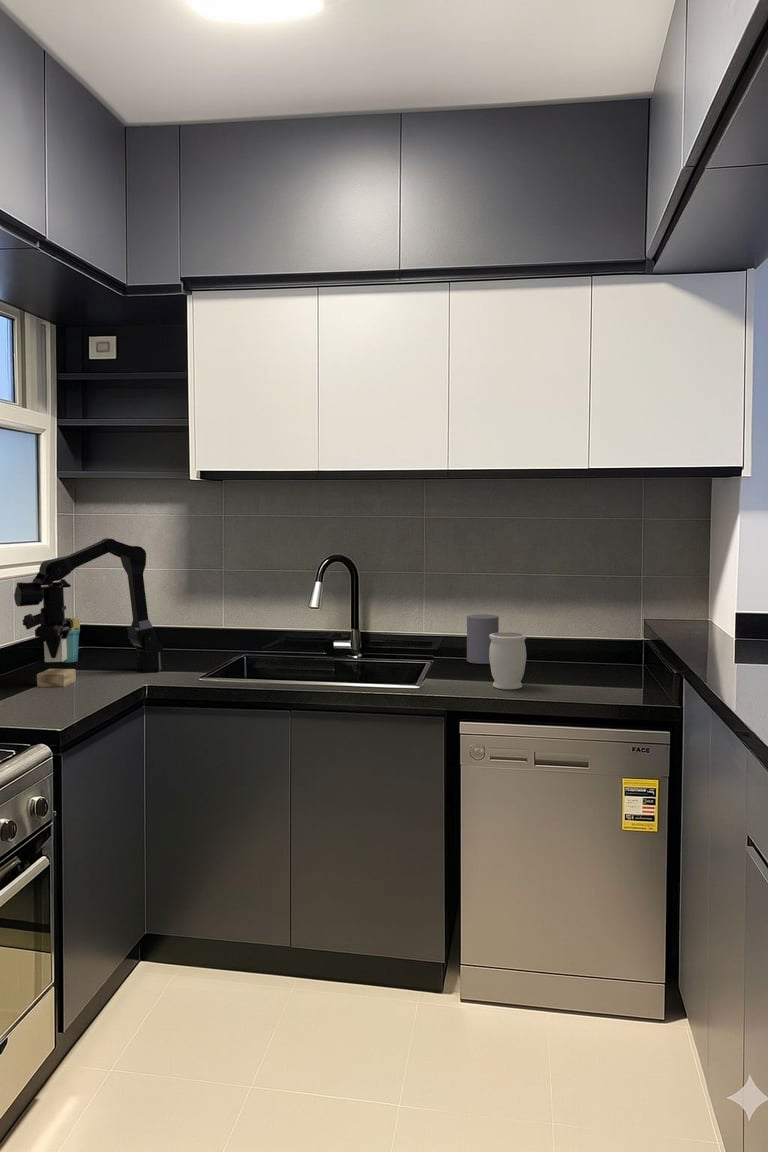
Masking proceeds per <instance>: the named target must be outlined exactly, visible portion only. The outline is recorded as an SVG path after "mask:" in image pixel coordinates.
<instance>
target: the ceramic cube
mask: <svg viewBox="0 0 768 1152" xmlns="http://www.w3.org/2000/svg"><path fill="white" fill-rule="evenodd" d="M43 650H44V651H43V653H44V655H43V656H44V663H60V662H61V663H64V662H63V661H64V660H66V659H67V645H66V639H61V642H60V645H59V648H58V652H57V655H56V658H51V655H50V652H49V649H48V646H47V644H46V641H45V640H44V641H43Z"/></svg>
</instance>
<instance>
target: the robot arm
mask: <svg viewBox="0 0 768 1152" xmlns="http://www.w3.org/2000/svg"><path fill="white" fill-rule="evenodd" d="M106 554H111V555H113V556H115V557H117V558H120V562H121V564H122V567H123V569H124V571H125V573H126V575H127V581H128V590H129V597H130V605H131V606H130V607H131V615H132V622H131V625H127V626H126V628H127V629H126V630H127V633H128V635H127V639H129V640H130V643H131V644H132V645H133V646H134V647H135V650H136V651H138V655H137V657H136V670H137V673H158V672H160V671H161V669H162V668H163V667H162V666H161V653H162V652H163V650H164V645H163V644H162V642H161V641H159V640H158V638H157V636H156V633H155V630H154V629H155V628H154V626H153V625H152V622H151V621H150V619H149V613H148V605H147V595H146V588H145V586H146V585H145V581H144V572H145V569H146V565H147V552H146V550H145V548H143V547H141V546H139V545H138V546H137V545H129V544H126V543H123V542H120V541H117V540H115V539H114V538H110V537H109V538H108V537H107V538H106V537H104V538H102V539H101V540H99V541H98V542H95V543H93V544H90V545H89V546H86V547H84V548H82V549H80V550H77V551H76V552H73V553H71V554H68V555H64V556H61V557H60V556H59V557H56V558H52V559H47V560H44V561H42V562H41V564H40V566H39V567H38V568H39V570H38V572H37V574H36V576H35V577H34V579H32V581H30V582H23V581H22V582H21V581H20V582H16V587H15V589H14V593H13V598H14V603H15V605H16V606H17V607H28V606H29V607H31V606H39V605H40V604H41V602H42V603H43V604H42V605H43V607H41V608H40V612H39V613H36V614H34V615H33V614H32V613H29V614H27V615H24V616H23V619H22V625H23V626H24V627H25V628H26V631H27V630H30V629H32V628H35V627H36V626H37V628H35V629H34V637H37V638H40V639H42V640H44V641H46V644H47V646H48V649H49V652H50V655H51V658H56V655H57V652H58V648H59V645H60V642H61V639H67V637H68V635H69V632H70V630H66V629H65V627H66V628H73V620H72V619H73V618H71V617H68V618H67V617H65V611H66V610H67V605H65V594H64V593H65V592H64V590H65V588H71V586H72V585H71V584H70V583H69V582H67V581H66V579H64V578H66V577H67V576H69V575H70V574H71V573H72V571H74V570H75V569H77V568H79V567H80V566H82V565H83V566H84V565H85V564H87V563H89V562H91V561H94V560H95V559H98V558H100V557H102V556H105V555H106Z"/></svg>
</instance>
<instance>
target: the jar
mask: <svg viewBox="0 0 768 1152" xmlns="http://www.w3.org/2000/svg"><path fill="white" fill-rule="evenodd" d="M489 637H490V639H491V644H490V650H489V660H490V664H489V665H490V671H491V673H490V674H491V676H492V678H493V680H494V681H493V683H492V687H494V688H496V689H498V690H518V689H521V688H523V683H522V682H521V681H522V679H523V677H524V674H525V670H526V669H525V668H526V662H527V648H526V642H525V640H526V639H527V635H526V634H524V633H520V632H512V631H511V632H510V631H509V632H506V631H504V632H503V631H502V632H499V633H493V634H490V636H489Z"/></svg>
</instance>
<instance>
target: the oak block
mask: <svg viewBox="0 0 768 1152" xmlns="http://www.w3.org/2000/svg"><path fill="white" fill-rule="evenodd" d="M76 674H77V673H76V669H75V668H48V669H46V670H44V671H41V672H38V673H37V674H36V685H37V686H36V687H37V688H65V687H67V686H69V685H71V683H72V684H73V683H76V682H77V681H76V679H77V678H76V677H77V676H76Z"/></svg>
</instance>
